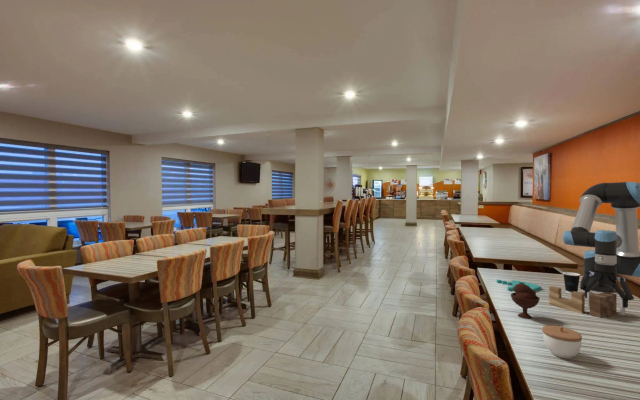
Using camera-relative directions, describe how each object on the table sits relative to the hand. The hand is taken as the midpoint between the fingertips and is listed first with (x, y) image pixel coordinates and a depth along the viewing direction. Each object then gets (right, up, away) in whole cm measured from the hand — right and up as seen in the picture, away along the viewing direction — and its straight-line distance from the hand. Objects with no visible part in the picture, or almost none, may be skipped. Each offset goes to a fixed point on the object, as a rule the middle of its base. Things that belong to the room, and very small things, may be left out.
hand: (605, 309), depth 144 cm
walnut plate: (-2, -2, -1) cm, 3 cm away
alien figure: (-12, -3, +44) cm, 45 cm away
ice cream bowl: (-41, -2, -4) cm, 41 cm away
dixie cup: (+11, -2, +33) cm, 35 cm away
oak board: (-13, -2, +7) cm, 15 cm away
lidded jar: (-51, -2, -38) cm, 64 cm away
